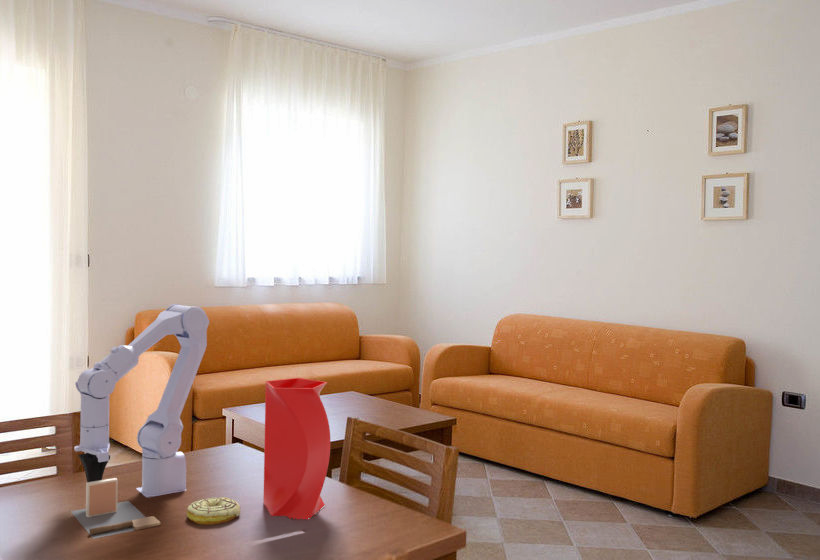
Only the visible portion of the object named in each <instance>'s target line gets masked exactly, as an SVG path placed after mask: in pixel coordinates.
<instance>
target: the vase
mask: <svg viewBox="0 0 820 560" xmlns="http://www.w3.org/2000/svg"><path fill="white" fill-rule="evenodd" d="M327 384H328V382H327V381H322V380H315V379H309V378H303V377H292V378H286V379H285V378H284V379H275V380H274V379H272V380H266V381H265V396H264V397H265V398H264V399H265V400H264V401H265V405H264V445H263V446H264V450H263V451H264V452H263V453H264V456H263V457H264V458H263V499H262V500H263V502H262V504H263V505H264V507H265V509H266V510H267V512H268V513H269V514H270V516H271V517H281V516H282V517H287V518H289V519H290V520H309V519H308V518H310V519H312V518H313V517H314V516H315V515H316V514H315V513H317V512H318V511H319V510H320V509H321V508H322V507H323V506H324V505H325V506H326V504H325V503H324V500H323V498H322V496H321V494H322V490H323V487H324V484H325V480H326V476H327V473H328V467H329V464H330V463H329V462H330V456H331V429H330V428H331V427H330V421H329V417H328V414H327V411H326V408H325V405H324V403H323V401H322V399H321V391H322V390H323V389H324V387H325V386H326V385H327ZM319 512H320V511H319ZM319 512H318V513H319ZM318 513H317V514H318ZM314 514H315V515H314ZM313 515H314V516H313ZM312 516H313V517H312ZM311 517H312V518H311ZM291 518H293V519H291ZM295 518H296V519H295ZM301 518H302V519H301Z"/></svg>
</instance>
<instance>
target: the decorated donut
mask: <svg viewBox="0 0 820 560" xmlns="http://www.w3.org/2000/svg"><path fill="white" fill-rule="evenodd" d="M240 514H241V505H240V504H239V503H238V502H237V501H236V500H235V499H232V498H231V497H230V498H229V497H224V496H223V497H222V496H221V497H219V496H218V497H208V498H207V497H206V498H203V499H199V500H196V501H194V502H192V503H190V504H189V505H188V506H187V511H186V515H187V518H188V519H189V521H191V522H193V523H195V524H198V525H205V526H207V525H219V524H220V525H221V524H225V523H228V522H230V521H233V520H234V519H236V518H237V517H239V515H240Z"/></svg>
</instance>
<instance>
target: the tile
mask: <svg viewBox="0 0 820 560" xmlns="http://www.w3.org/2000/svg"><path fill="white" fill-rule="evenodd" d="M118 481H119V480H118V478H117V477H113V478H107V479H102V480H99V481H93V482H87V481H86V483H85V493H86V494H85V509H86V516H87V517H92V516H97V515H103V514H108V513H113V512H117V503H118V485H119V483H118Z"/></svg>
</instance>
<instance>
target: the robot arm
mask: <svg viewBox="0 0 820 560" xmlns="http://www.w3.org/2000/svg"><path fill="white" fill-rule="evenodd" d="M209 324H210V320H209V317H208V315H207V313H206V311H205V310H204V309H203V308H202V307H199V306H189V305H182V304H179V303H174V304H171V305H169V306H168V307H166V308H165V310H163V311H161V312H160V313H159V314H158V316H157V317H156V319H154V321H153V322H151V323H150V324H149V325H148V326H147V327H146V328H145V329H144V330H143V331H142V332H141V333H140V334H138V335H137V336H136V337H135V338H134V339H133V340H132V341H131V342H130V343H129V344H128V345H125V344H121V345H118V346H113V347H112V348H111V349H110V353H109V354H108V355H107V356H105V357H104V358H102V359H101V360H100V361H99V362H98V361H97V362H94V364H93V368H87V369H85V370H83V371H82V372H81V373H80V374H79V376H78V378H77V381H76V382H75V384H74V385H75V388H76V390H77V392H79V394H80V421H79V422H80V423H79V424H80V431H79V433H80V436H79V437H80V438H79V439H80V440H79V441H80V442H79V445H76V446H74V448H73V449H74V451H75V452H82V453H80V454H78V458H79V459H80V461H81V463H82V467H83V470H84V474H85V479H86V483H87V482H93V481H99V480H103V478H104V477H103V476H104V473H105V469H106V467H107V465H108V463H109V461H110V460H111V455H110V452H109V450H110V448H111V443H110V395H111V394H112V393H113V392H114V390H115V388H116V384H117V383H118V382H119V381H120V380H121V379H122V378H124V376H126V375H127V374H128V373H129V372H130V371H131V370H133V369H134V368H135V367H136V366H137V365H138V364H139V357H140V356H141V355H143V354H144V353H145V352H147V351H148V350H149V349H150V348H152V347H153V346H154V345H155V344H157V343H158V342H159V341H161V340H162V339H163V338H165V337H166V336H168V335H169V336H170V335H174V336H175V337H176V339H177V342H178V343H179V345H180V349H179V353H178V355H177V358H176V360H175V362H174V365H173V367H172V370H171V373H170V375H169V378H168V380H167V383H166V384H165V385H166V386H165V388H164V391H163V394H162V396H161V399H160V401H159V403H158V407H157V409H156V410H154V411H153V412H152V413H151V414H149V415H148V416H147V418H146V421H145V422H144V423H143V425H141V427H140V428H139V429H138V431H137V436H136V442H137V444H138V446H139V447H140V448H141V453H142V454H141V455H142V456H141V457H142V461H141V462H142V466H141V468H142V469H141V472H142V473H141V487H136V488H135V489H136V490H137V491H138V492H139V493H141V494H142V496H144V497H145V498H153V497H158V496H162V495H163V496H164V495H168V494H173V493H181V492H186V491H187V460H186V456H185V454H184V453H183V451H179V449H180V448H181V445H182V433H183V429H184V425H183V422H182V420H181V415H182V412H183V410H184V407H185V405H186V402H187V399H188V396H189V393H190V392H191V388H192V386H193V383H194V381H195V378H196V376H197V373H198V370H199V368H200V364H201V362H202V360H203V357H204V354H205V352H206V349H207V345H208V340H207V338H208V337H207V336H208V335H207V333H208V327H209Z"/></svg>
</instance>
